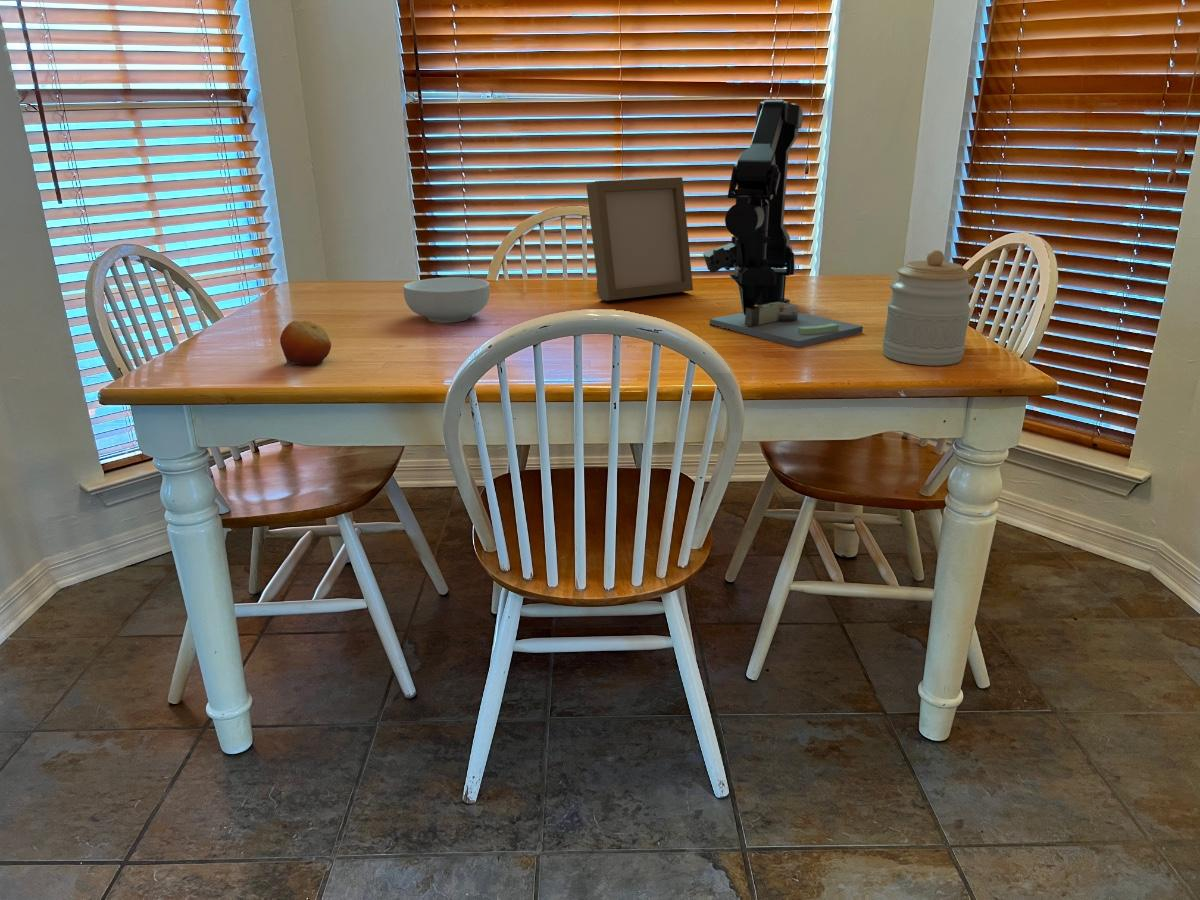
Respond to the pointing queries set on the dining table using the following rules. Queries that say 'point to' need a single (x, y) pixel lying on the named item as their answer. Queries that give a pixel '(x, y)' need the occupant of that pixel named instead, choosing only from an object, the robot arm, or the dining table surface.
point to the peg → (771, 313)
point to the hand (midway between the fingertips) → (746, 314)
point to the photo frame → (639, 237)
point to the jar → (928, 312)
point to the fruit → (304, 343)
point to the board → (791, 329)
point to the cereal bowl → (447, 298)
